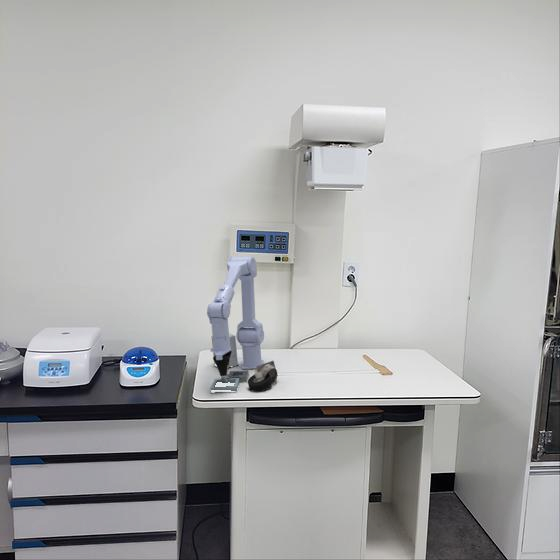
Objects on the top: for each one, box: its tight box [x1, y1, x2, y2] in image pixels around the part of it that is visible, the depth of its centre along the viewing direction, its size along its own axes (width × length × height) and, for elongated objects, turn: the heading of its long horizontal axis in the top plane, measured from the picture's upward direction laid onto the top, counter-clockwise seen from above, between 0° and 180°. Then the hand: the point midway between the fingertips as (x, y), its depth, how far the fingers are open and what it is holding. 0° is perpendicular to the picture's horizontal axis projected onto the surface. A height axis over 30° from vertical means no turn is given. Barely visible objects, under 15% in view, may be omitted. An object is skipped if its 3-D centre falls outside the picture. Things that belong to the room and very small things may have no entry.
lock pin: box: [220, 365, 230, 383], centre depth 176 cm, size 3×3×6 cm
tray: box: [209, 378, 241, 392], centre depth 176 cm, size 9×9×2 cm
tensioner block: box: [228, 369, 250, 383], centre depth 184 cm, size 7×7×2 cm
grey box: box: [211, 333, 239, 368], centre depth 200 cm, size 7×7×13 cm
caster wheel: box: [247, 360, 278, 393], centre depth 175 cm, size 7×11×10 cm
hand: (224, 373), depth 176 cm, fingers closed on lock pin, 3 cm apart
